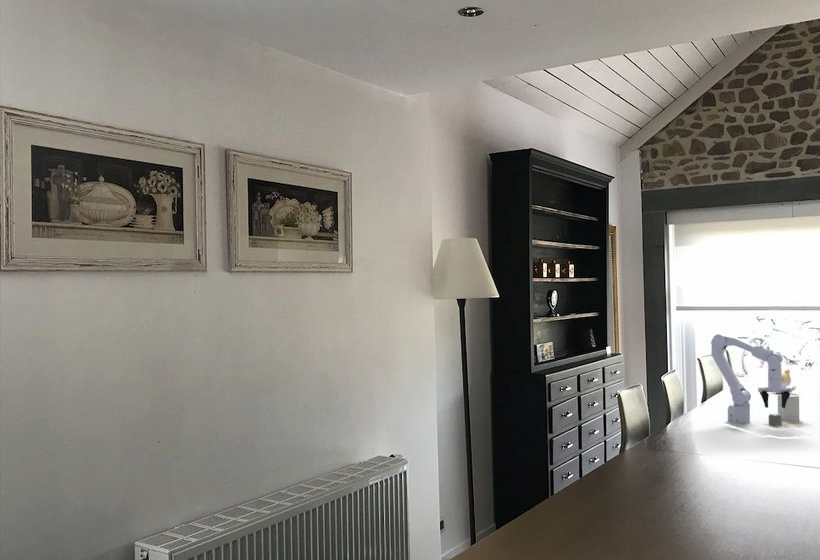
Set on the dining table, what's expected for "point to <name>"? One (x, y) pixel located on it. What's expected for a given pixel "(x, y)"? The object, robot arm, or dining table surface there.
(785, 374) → the kitten
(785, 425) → the board
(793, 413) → the supplement box
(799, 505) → the dining table surface
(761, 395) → the robot arm
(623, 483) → the dining table surface
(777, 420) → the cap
